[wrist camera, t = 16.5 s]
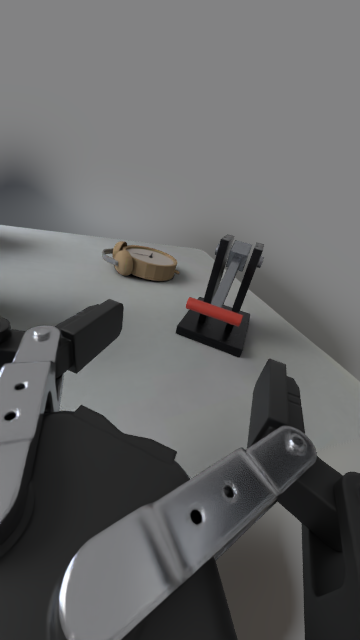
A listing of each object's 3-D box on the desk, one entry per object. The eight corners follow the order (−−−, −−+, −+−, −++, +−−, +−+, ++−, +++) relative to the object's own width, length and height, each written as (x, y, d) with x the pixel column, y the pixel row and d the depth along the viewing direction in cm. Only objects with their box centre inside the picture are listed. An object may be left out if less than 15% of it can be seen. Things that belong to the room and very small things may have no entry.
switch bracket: (239, 357, 30) (281, 262, 23) (175, 333, 32) (197, 238, 25) (247, 320, 39) (279, 244, 33) (197, 303, 41) (218, 227, 34)
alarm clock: (185, 270, 45) (106, 248, 39) (176, 292, 47) (100, 275, 41) (170, 251, 54) (104, 231, 47) (163, 271, 56) (99, 254, 50)
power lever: (236, 333, 23) (243, 317, 21) (184, 314, 24) (186, 297, 22) (258, 264, 31) (265, 248, 29) (219, 252, 32) (223, 236, 30)
